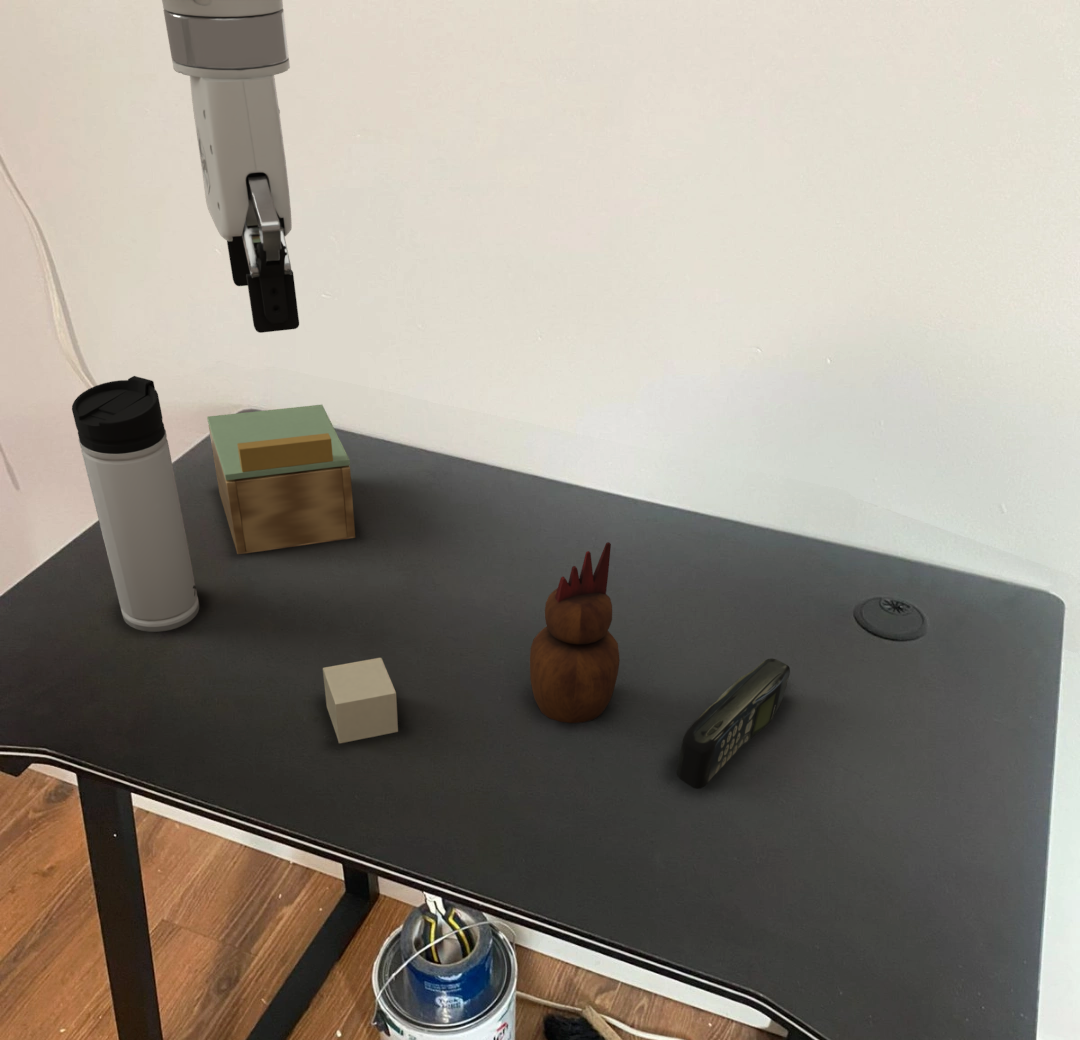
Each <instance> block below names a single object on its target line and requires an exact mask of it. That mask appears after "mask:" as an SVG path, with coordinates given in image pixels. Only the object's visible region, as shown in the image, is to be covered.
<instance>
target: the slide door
mask: <svg viewBox="0 0 1080 1040" xmlns="http://www.w3.org/2000/svg"><path fill="white" fill-rule="evenodd" d="M206 418H207V423H208V428H209V427H210V430H211V434H212V437H213V440H214V443H215V447H216V450H217V453H218V456H219V460H220V463H221V466H222V469H223V473H224V476H225V479H226V480H234V479H243V478H251V477H259V476H267V475H275V474H283V473H291V472H299V471H308V470H316V469H324V468H332V467H340V466H348V465H349V466H350V465H351V460H350V457H349V455H348V453H347V452H346V449H345V447H344V446H343V443H342V440H341V439H340V437H339V435H338V433H337V431H336V428H335V427H334V425H333V423H332V421H331V419H330V417H329V415H328V413H327V411H326V409H325V407H324V405H323V404H312V405H304V406H295V407H294V406H293V407H285V408H276V409H266V410H256V411H248V412H236V413H227V414H220V415H209V416H207V417H206Z"/></svg>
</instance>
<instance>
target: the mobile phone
mask: <svg viewBox="0 0 1080 1040" xmlns="http://www.w3.org/2000/svg"><path fill="white" fill-rule="evenodd" d="M790 674H791V667H790V666H789V665H788V664H786V662H785V663H784V662H783V661H781V660H778V659H776V658H767V659H765V660H763V661H762V662H761V663H759V664H758V666H756V667H755V668H754V669H753V670H751V671H750V672H748V673H745V674H744V675H742V676H740V677H739V678H737V679H736V680H735V682H733V683H732V684H731V685H730V686H729V687H728V688H727V689H726V690H725V691H723V692H722V694H720V696H719V697H718V698H717V700H716V701H714V702H713V703H712V704H711V705H710V706H709V707H708V708H706V709H705V710H704V712H702V714H700V715H699V716H698V717H697V718H696V719H695V720H694V721H693V723H692V724H691V725H690V726H689V728H688V729H687V730H686V731H685V733H684V736H683V738H682V742H681V745H680V750H679V755H678V761H677V766H676V775H677V777H678V778H679V780H681V782H683V783H685V784H686V785H688V786H689V787H691V788H693V789H696V790H697V789H698V790H700V789H702V788H704V787H706V786H707V785H708V783H709V782H710V781H711V780H712V778H713V777H714V776H715V775H716V774H717V773H718V772H719V771H720V770H721V769H722V768H723V767H724V766H725V764H726V763H727V762H728V761H729V760H730V759H731V758H732V757H733V756H734V755H735V754H736V753H737V752H738V751H739V750H740V749H741V748H742V746H744V745H745V744H746V743H747V742H748V741H749V740H751V739H752V738H753V737H755V736H756V735H758V733H760V732H762V730H764V729H765V728H766V727H767V726H768V725H769V724H770V723H771V722H772V720H773V719H774V717H775V715H776V713H777V711H778V710H779V707H780V706H781V704H782V702H783V698H784V695H785V693H786V689H787V686H788V682H789V679H790Z"/></svg>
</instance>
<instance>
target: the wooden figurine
mask: <svg viewBox="0 0 1080 1040" xmlns="http://www.w3.org/2000/svg"><path fill="white" fill-rule="evenodd" d="M611 547H612V544H611V542H606V543H605V544H604V547H603V549H602V552H601V555H600V557H599V559H598V562H597V564H596V567H595V569H594V572H593V562H592V561H593V560H592V554H591V552H590V550H588V551H586V552H585V555H584V557H583V559H584V560H583V562H582V567H581V570H580V574H579V569H578V567H577V566H576V565H573V566H572V567H571V570H570V574H569V578H568V580H567V579H566V577H565V576H561V577H560V579H559V583H558V586H557V588H555V589H554V590H553V591H552V592H550V594H549V595H548V597H547V599H546V600H545V606H544V619H545V620H544V621H545V624H546V626H544V627H543V628H542V629H541V630H540V631H539V632H538V633H537V634H536V636H535V637H534V638H533V639H532V643H531V646H530V648H529V649H530V650H529V680H530V685H531V691H532V694H533V698H534V701H535V703H536V704H537V707H538V708H539V710H540V712H541V714H543V715H544V716H546V718H548V719H550V720H553V721H557V722H560V723H568V724H579V723H586V722H590V721H594V720H595V719H596V718H598V717H599V716H601V715H602V713H603V712H604V711H605V710H606V708H607V707H608V705H609V703H610V702H611V699H612V697H613V694H614V690H615V687H616V684H617V679H618V675H619V668H620V651H619V643H618V641H617V640H616V638H615V637H614V636H613V635H612V633H611V632H610V631H609V629H610V627H611V625H612V621H613V603H612V599H611V597H610V596H609V595H608V594H607V587H608V582H609V581H608V579H609V569H610V559H611V550H612V549H611Z"/></svg>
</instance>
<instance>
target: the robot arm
mask: <svg viewBox="0 0 1080 1040" xmlns="http://www.w3.org/2000/svg"><path fill="white" fill-rule="evenodd" d="M161 2H162V8H163V16H164V21H165V27H166V33H167V39H168V45H169V50H170V57H171V61H172V68H173V70H174V72H176V73H178V74H182V75H183V76H189V83H190V92H191V93H190V94H191V103H192V110H193V111H192V112H193V117H194V118H193V119H194V126H195V133H196V139H197V146H198V153H199V159H200V166H201V174H202V182H203V190H204V197H205V202H206V206H207V210H208V213H209V215H210V217H211V219H212V221H213V223H214V226H215V228H216V230H217V232H218V233H219V235H220V236H221V237H222V239H224V240H225V241H226V245H227V251H228V258H229V264H230V269H231V270H230V271H231V277H232V281H233V284H234V286H237V287H247V290H248V296H249V304H250V310H251V316H252V324H253V328H254V330H255V331H256V332H257V333H262V334H263V333H271V332H281V331H291V330H296V329H298V328H299V326H300V319H299V310H298V301H297V292H296V286H295V285H296V284H295V276H294V271H293V270H292V264H291V259H290V254H289V251H288V246H287V242H286V237H287V236H288V235H289V233H290V232H291V231H292V227H293V225H292V224H293V223H292V208H291V197H290V188H289V187H290V186H289V179H288V178H289V177H288V170H287V161H286V155H285V146H284V137H283V129H282V123H281V116H280V115H281V110H280V107H279V106H280V105H279V100H278V92H277V85H276V78H275V76H276V75H279V74H280V75H281V74H283V73H286V72H287V71H289V69H290V68H291V66H290V58H289V48H288V47H289V46H288V38H287V37H288V36H287V31H286V30H287V29H286V19H285V10H284V3H283V0H161Z"/></svg>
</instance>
